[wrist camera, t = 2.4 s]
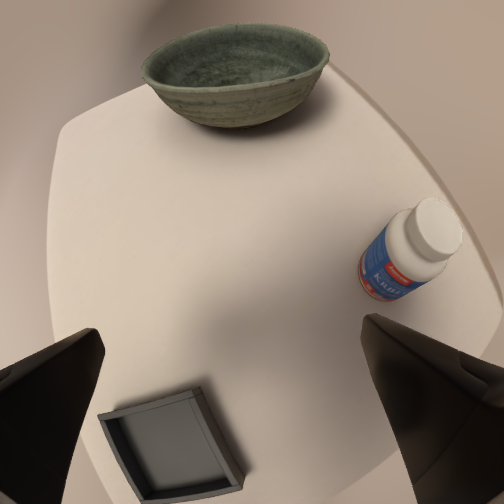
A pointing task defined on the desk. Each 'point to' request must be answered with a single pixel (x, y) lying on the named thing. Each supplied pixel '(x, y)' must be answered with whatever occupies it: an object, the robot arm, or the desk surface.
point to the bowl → (236, 73)
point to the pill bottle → (411, 250)
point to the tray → (172, 449)
